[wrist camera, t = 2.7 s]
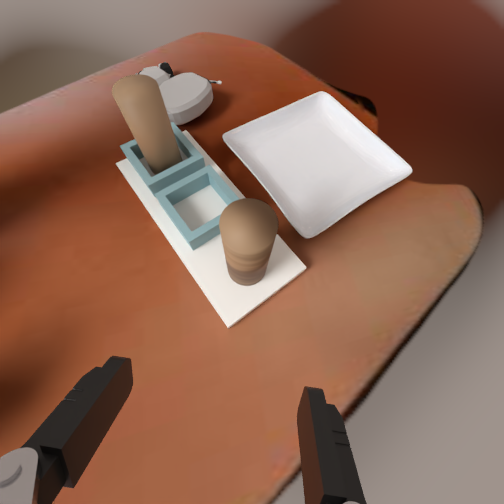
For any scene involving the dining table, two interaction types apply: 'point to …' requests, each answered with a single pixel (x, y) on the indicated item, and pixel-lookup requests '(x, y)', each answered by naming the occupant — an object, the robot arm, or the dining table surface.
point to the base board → (190, 200)
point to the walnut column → (248, 239)
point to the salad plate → (316, 161)
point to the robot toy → (182, 92)
